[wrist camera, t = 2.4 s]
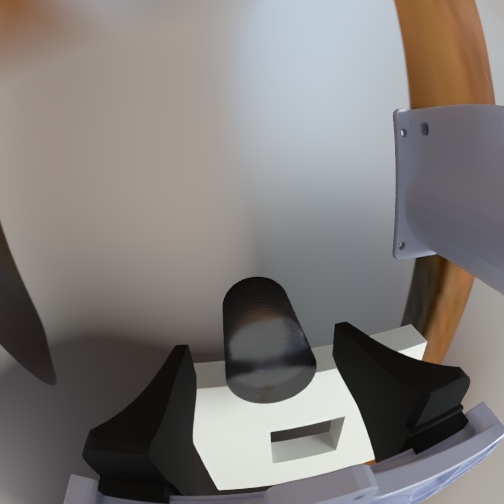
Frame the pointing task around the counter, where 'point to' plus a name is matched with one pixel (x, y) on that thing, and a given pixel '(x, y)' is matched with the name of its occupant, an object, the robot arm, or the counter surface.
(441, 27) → the counter surface
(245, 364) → the pin
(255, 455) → the socket block
